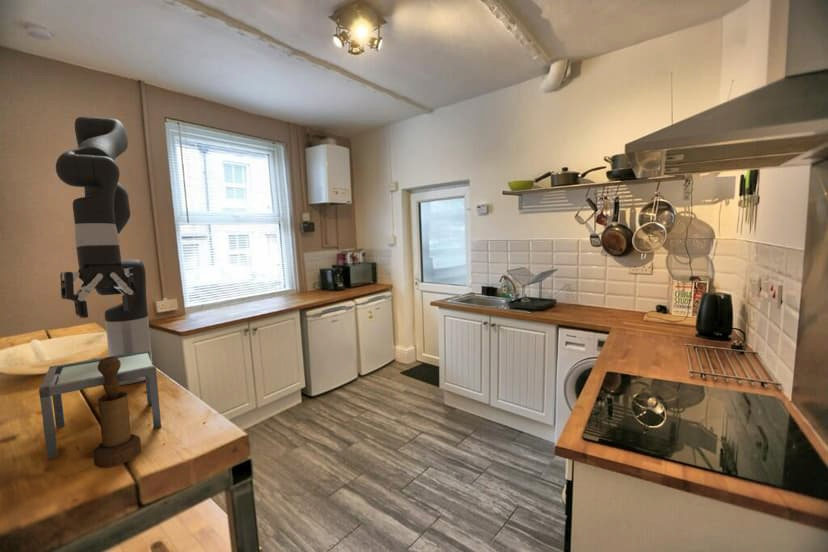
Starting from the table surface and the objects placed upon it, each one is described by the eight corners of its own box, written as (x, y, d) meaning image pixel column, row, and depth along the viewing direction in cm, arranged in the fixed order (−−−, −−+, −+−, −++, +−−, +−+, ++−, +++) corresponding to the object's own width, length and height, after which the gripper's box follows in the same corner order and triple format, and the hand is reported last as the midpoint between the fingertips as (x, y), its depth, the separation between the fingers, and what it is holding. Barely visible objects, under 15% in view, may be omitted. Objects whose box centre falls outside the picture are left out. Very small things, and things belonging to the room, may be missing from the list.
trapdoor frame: (56, 426, 75) (49, 366, 73) (153, 402, 85) (149, 349, 84) (47, 459, 63) (39, 389, 62) (161, 427, 73) (155, 366, 72)
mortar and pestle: (150, 449, 66) (141, 353, 64) (112, 471, 59) (101, 365, 58) (123, 444, 67) (114, 351, 66) (84, 465, 61) (72, 362, 60)
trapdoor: (63, 372, 73) (62, 367, 73) (148, 357, 82) (147, 352, 82) (57, 390, 64) (56, 385, 64) (153, 371, 73) (152, 366, 73)
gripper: (124, 244, 90) (132, 308, 92) (49, 245, 78) (58, 319, 79) (142, 243, 87) (149, 309, 89) (65, 244, 74) (75, 321, 76)
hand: (106, 313), depth 84 cm, fingers open, 8 cm apart
